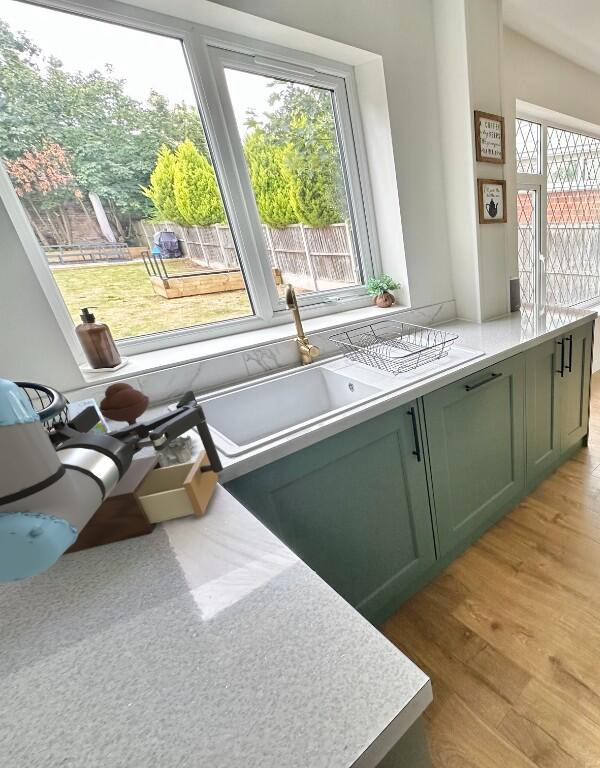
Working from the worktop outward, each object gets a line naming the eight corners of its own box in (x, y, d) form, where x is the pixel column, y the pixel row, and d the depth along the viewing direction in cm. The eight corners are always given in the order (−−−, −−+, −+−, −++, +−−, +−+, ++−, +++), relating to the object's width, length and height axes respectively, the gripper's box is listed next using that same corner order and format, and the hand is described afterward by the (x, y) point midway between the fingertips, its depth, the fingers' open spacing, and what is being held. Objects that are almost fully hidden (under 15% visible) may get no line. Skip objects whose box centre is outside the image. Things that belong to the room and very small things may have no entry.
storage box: (174, 492, 94) (158, 454, 90) (151, 533, 82) (132, 492, 78) (85, 512, 88) (63, 473, 84) (46, 558, 76) (19, 516, 72)
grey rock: (191, 462, 105) (185, 448, 104) (154, 471, 102) (148, 457, 100) (196, 443, 114) (191, 430, 112) (162, 451, 110) (156, 437, 109)
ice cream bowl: (101, 440, 117) (77, 392, 111) (139, 421, 127) (120, 376, 121) (132, 443, 115) (110, 394, 109) (169, 423, 125) (150, 378, 119)
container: (236, 474, 97) (213, 407, 90) (224, 509, 86) (196, 435, 79) (132, 496, 91) (98, 425, 84) (103, 538, 79) (61, 460, 72)
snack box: (91, 454, 110) (65, 403, 104) (118, 446, 114) (95, 396, 108) (98, 487, 96) (69, 430, 90) (130, 476, 100) (104, 421, 94)
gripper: (-38, 524, 49) (60, 440, 68) (207, 472, 58) (235, 410, 76) (-74, 471, 46) (38, 399, 65) (189, 425, 55) (223, 373, 73)
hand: (145, 405), depth 70 cm, fingers open, 13 cm apart
